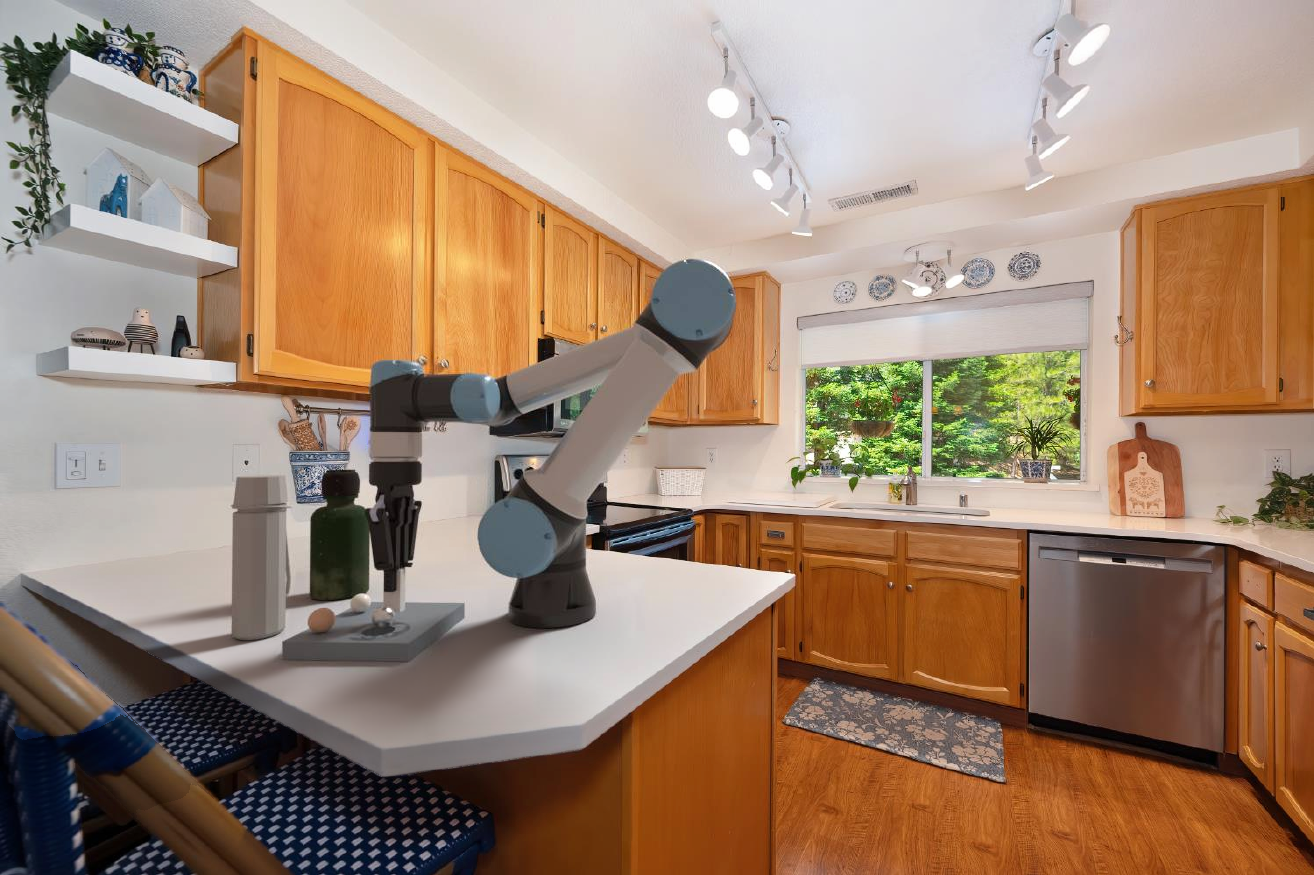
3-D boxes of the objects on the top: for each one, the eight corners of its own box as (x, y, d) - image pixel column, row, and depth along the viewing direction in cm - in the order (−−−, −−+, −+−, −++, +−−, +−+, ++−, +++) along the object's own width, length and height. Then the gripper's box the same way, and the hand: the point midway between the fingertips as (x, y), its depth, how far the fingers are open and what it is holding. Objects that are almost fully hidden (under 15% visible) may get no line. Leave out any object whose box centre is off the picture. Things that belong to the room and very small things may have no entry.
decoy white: (374, 609, 94) (374, 591, 94) (364, 614, 91) (364, 596, 91) (357, 609, 94) (357, 591, 94) (346, 614, 91) (346, 596, 91)
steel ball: (394, 630, 85) (400, 609, 87) (388, 625, 82) (393, 603, 84) (373, 630, 85) (378, 608, 87) (365, 624, 82) (371, 602, 84)
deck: (464, 617, 97) (464, 602, 97) (408, 661, 77) (408, 643, 77) (363, 616, 98) (363, 601, 98) (282, 659, 78) (282, 641, 78)
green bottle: (344, 602, 107) (345, 471, 107) (296, 600, 108) (297, 471, 109) (380, 589, 117) (381, 469, 117) (335, 587, 119) (336, 468, 119)
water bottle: (259, 644, 84) (260, 477, 85) (216, 640, 86) (218, 477, 86) (308, 624, 93) (309, 474, 94) (269, 622, 95) (270, 474, 95)
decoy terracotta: (340, 628, 84) (340, 605, 84) (325, 636, 80) (325, 611, 80) (317, 628, 84) (317, 604, 84) (301, 636, 80) (302, 611, 81)
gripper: (394, 458, 95) (392, 599, 94) (347, 460, 82) (345, 623, 81) (437, 459, 94) (436, 600, 94) (397, 461, 81) (395, 624, 81)
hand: (394, 610), depth 88 cm, fingers closed
